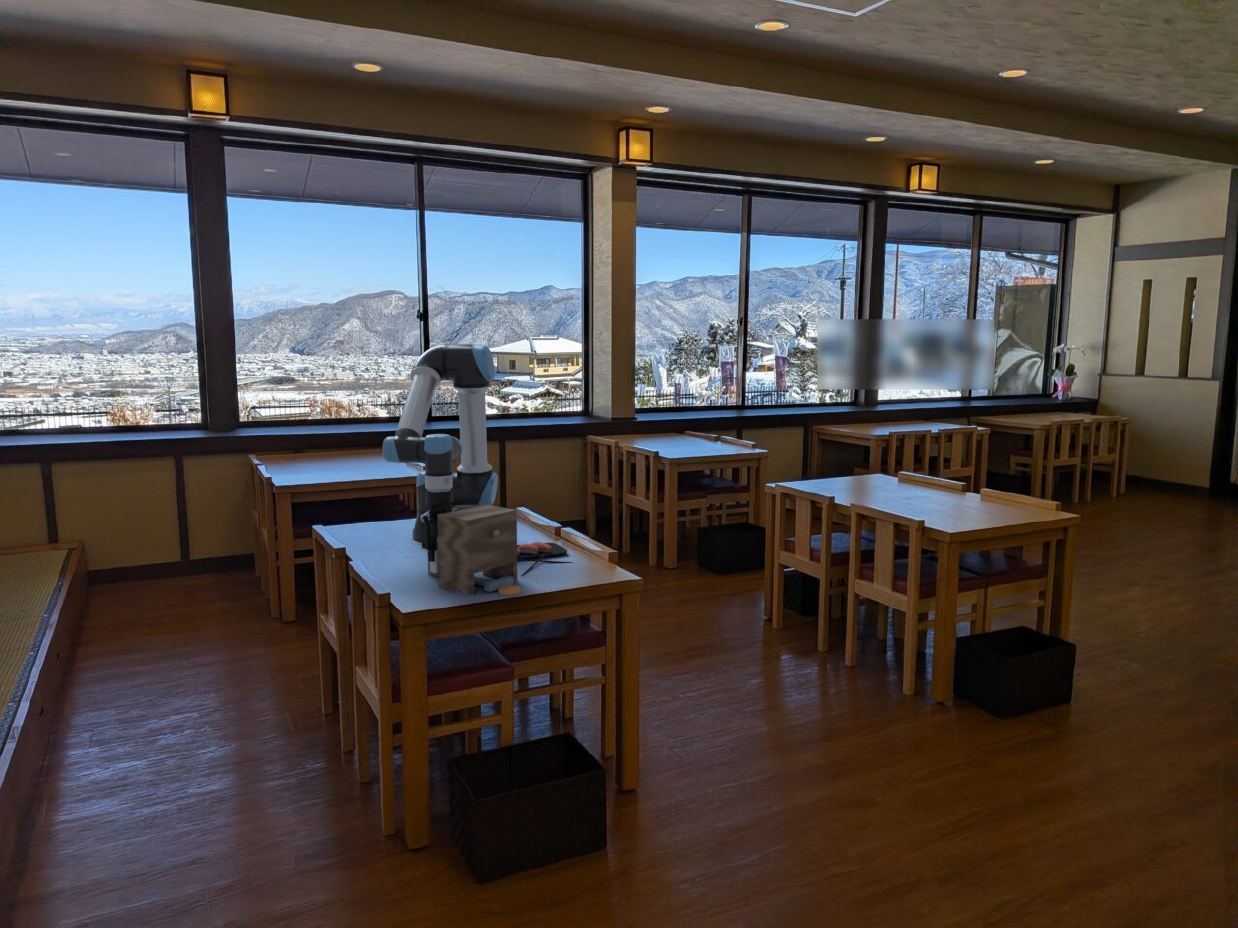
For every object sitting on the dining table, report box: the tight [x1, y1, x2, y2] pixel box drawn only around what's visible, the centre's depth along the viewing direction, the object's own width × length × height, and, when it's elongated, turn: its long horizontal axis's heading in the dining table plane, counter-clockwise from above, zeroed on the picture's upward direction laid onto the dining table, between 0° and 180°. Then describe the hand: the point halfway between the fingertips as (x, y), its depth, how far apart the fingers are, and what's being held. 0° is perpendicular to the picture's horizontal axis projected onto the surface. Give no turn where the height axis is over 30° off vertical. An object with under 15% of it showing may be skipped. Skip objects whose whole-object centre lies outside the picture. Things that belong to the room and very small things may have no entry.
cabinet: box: [437, 505, 518, 596], centre depth 233 cm, size 13×18×20 cm
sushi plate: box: [517, 541, 573, 577], centre depth 258 cm, size 29×30×4 cm
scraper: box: [426, 537, 514, 593], centre depth 236 cm, size 27×9×10 cm, turn 54°
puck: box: [497, 584, 522, 596], centre depth 227 cm, size 6×6×1 cm
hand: (440, 570), depth 243 cm, fingers closed on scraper, 4 cm apart
